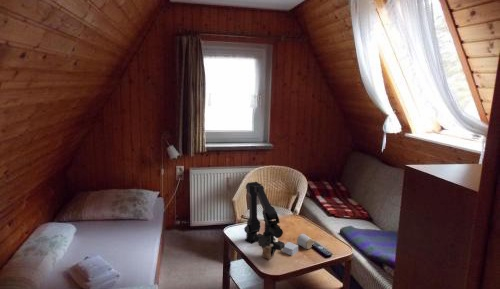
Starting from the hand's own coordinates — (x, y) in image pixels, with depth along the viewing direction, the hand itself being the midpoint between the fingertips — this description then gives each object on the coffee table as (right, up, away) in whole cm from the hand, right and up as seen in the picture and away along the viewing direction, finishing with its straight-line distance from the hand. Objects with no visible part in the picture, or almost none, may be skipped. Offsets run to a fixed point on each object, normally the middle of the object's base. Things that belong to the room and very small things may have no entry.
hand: (268, 254), depth 200 cm
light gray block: (+14, -1, +7) cm, 16 cm away
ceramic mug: (+25, 0, +15) cm, 29 cm away
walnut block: (0, -1, 0) cm, 1 cm away
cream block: (+4, +1, +15) cm, 15 cm away
